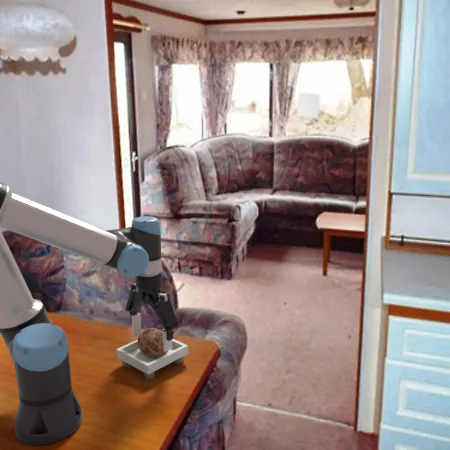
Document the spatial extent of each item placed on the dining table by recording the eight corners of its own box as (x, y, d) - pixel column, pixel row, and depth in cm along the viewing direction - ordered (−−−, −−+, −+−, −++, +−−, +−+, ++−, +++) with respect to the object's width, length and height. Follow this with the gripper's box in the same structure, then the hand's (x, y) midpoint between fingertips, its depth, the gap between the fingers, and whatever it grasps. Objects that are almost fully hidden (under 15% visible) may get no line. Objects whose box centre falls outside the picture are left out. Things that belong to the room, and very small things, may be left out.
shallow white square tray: (148, 382, 136) (147, 365, 134) (117, 365, 145) (116, 349, 143) (188, 361, 146) (188, 345, 145) (157, 346, 155) (156, 331, 154)
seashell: (182, 345, 147) (169, 325, 141) (165, 371, 142) (151, 351, 136) (156, 336, 153) (143, 316, 147) (138, 360, 148) (124, 340, 142)
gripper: (189, 278, 133) (191, 351, 138) (131, 259, 149) (135, 325, 155) (168, 286, 128) (171, 361, 133) (110, 266, 144) (115, 333, 149)
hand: (152, 342), depth 144 cm, fingers open, 13 cm apart
